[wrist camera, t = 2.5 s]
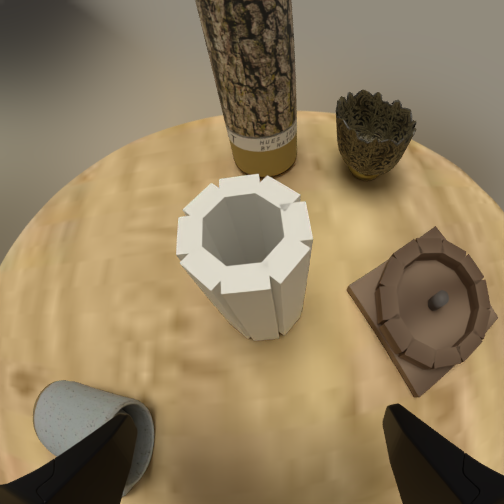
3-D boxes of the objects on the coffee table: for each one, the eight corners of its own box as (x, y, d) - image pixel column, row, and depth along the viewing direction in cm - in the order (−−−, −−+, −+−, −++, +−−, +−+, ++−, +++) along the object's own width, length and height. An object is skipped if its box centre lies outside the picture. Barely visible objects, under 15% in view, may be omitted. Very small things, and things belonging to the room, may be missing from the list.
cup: (316, 175, 29) (320, 114, 22) (347, 137, 31) (355, 81, 24) (381, 210, 26) (404, 152, 19) (404, 166, 28) (424, 111, 21)
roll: (315, 297, 23) (336, 216, 13) (267, 355, 22) (247, 321, 11) (259, 256, 26) (238, 159, 15) (212, 308, 24) (153, 238, 13)
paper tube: (299, 138, 32) (286, -81, 9) (294, 182, 29) (277, -88, 7) (241, 136, 33) (197, -71, 11) (228, 178, 30) (160, -68, 8)
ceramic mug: (83, 379, 22) (25, 369, 15) (158, 399, 21) (106, 400, 14) (80, 476, 18) (26, 488, 11) (153, 505, 17) (107, 535, 10)
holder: (492, 320, 20) (509, 312, 17) (414, 397, 19) (428, 397, 16) (431, 231, 25) (442, 215, 22) (346, 289, 23) (353, 277, 21)
